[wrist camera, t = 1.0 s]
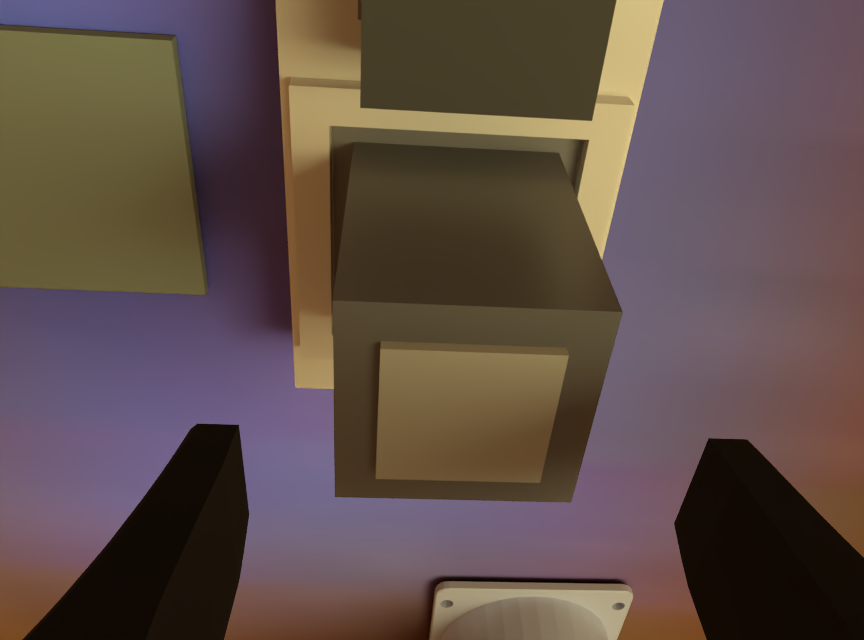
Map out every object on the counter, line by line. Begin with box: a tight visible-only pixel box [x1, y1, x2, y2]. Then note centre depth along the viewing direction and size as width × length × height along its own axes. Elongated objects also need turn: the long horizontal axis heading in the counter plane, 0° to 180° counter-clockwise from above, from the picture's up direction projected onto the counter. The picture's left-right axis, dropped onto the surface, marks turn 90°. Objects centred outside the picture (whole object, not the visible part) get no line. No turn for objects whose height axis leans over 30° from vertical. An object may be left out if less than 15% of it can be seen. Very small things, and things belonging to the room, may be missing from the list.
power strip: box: [276, 0, 664, 389], centre depth 16 cm, size 20×8×3 cm, turn 176°
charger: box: [333, 142, 622, 502], centre depth 15 cm, size 4×4×6 cm
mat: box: [0, 25, 208, 295], centre depth 19 cm, size 7×7×1 cm
